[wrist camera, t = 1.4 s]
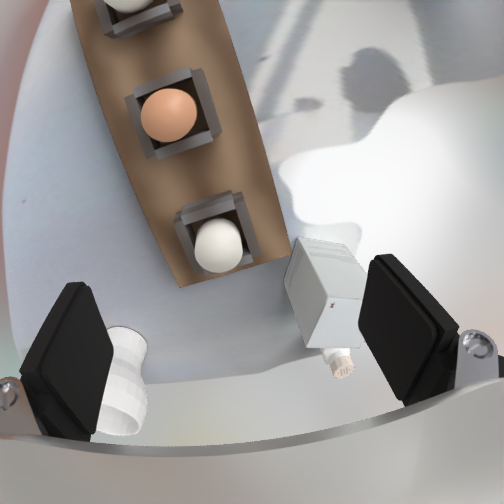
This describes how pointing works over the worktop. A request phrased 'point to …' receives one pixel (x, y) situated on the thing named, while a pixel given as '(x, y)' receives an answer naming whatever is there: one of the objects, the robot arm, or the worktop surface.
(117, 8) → the off-white plunger
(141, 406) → the cup
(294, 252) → the supplement box
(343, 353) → the pepper shaker
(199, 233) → the off-white plunger
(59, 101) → the worktop surface
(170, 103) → the terracotta plunger
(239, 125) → the button board
